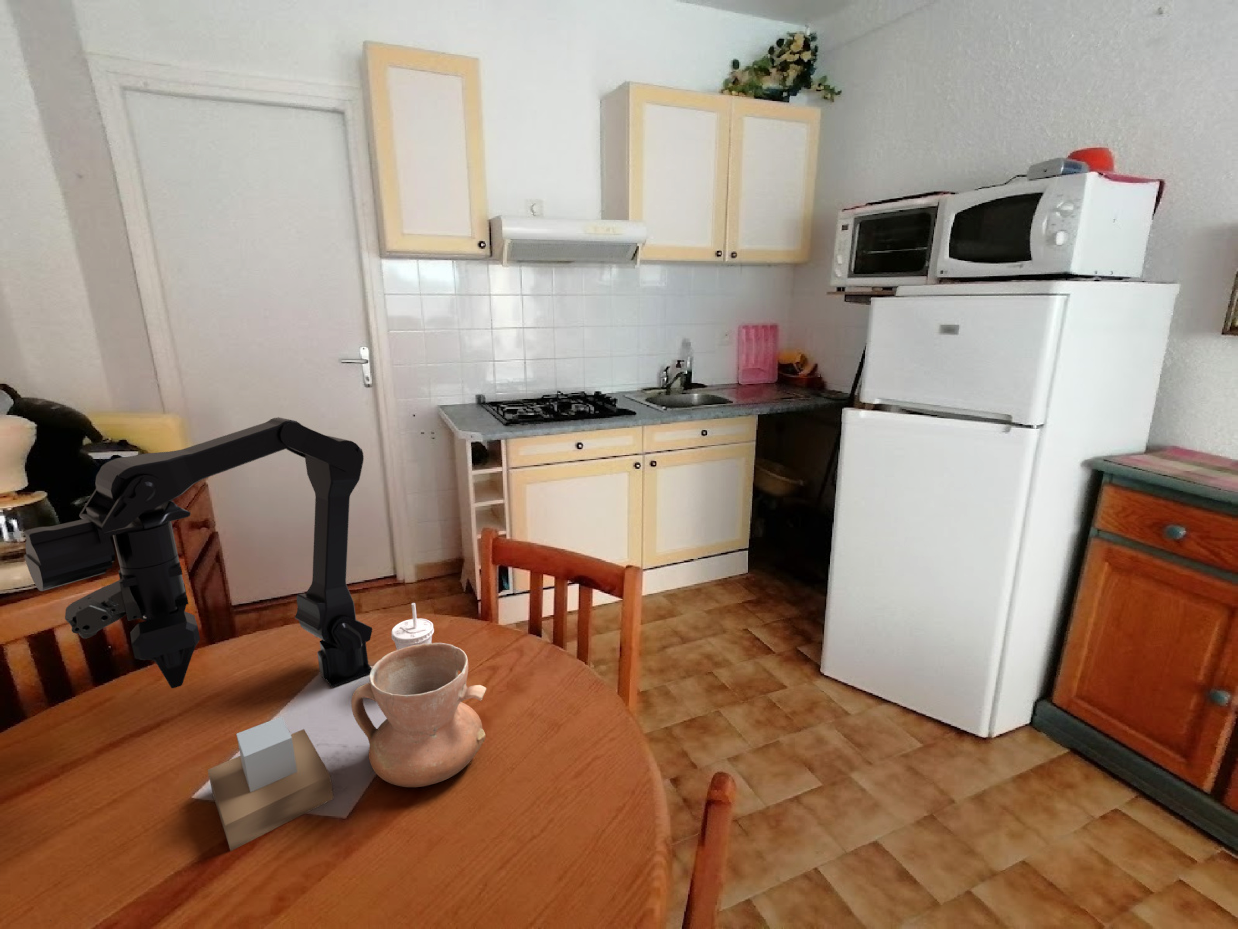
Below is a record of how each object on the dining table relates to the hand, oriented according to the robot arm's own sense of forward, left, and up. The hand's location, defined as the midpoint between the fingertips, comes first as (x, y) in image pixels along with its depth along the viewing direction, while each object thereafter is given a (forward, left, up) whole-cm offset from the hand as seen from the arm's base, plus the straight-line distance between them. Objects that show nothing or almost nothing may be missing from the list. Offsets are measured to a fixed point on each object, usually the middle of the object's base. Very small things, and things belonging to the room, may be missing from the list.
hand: (173, 669), depth 78 cm
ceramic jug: (-24, +21, -13) cm, 35 cm away
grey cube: (-7, +15, -10) cm, 19 cm away
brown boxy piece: (-7, +15, -14) cm, 21 cm away
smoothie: (-30, +4, -13) cm, 33 cm away
